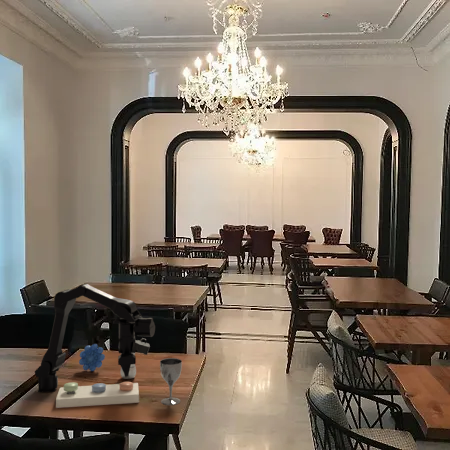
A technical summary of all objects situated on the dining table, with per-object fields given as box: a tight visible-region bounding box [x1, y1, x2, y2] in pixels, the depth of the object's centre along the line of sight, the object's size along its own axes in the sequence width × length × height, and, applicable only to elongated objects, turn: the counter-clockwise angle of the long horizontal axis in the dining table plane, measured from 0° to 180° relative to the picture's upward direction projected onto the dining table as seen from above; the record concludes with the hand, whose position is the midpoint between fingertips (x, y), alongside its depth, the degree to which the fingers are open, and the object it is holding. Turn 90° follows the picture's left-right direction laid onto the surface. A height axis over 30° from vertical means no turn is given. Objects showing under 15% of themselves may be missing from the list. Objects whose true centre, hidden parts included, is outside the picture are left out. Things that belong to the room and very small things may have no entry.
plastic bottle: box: [120, 353, 137, 380], centre depth 211 cm, size 6×7×20 cm
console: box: [55, 382, 140, 409], centre depth 189 cm, size 29×12×3 cm, turn 101°
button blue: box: [91, 382, 107, 392], centre depth 189 cm, size 5×5×4 cm
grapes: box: [78, 343, 106, 372], centre depth 220 cm, size 12×7×12 cm, turn 81°
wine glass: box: [159, 357, 183, 406], centre depth 187 cm, size 8×8×15 cm
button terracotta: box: [119, 381, 134, 391], centre depth 191 cm, size 5×5×4 cm
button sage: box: [63, 382, 79, 394], centre depth 187 cm, size 5×5×4 cm
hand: (126, 376), depth 191 cm, fingers closed
